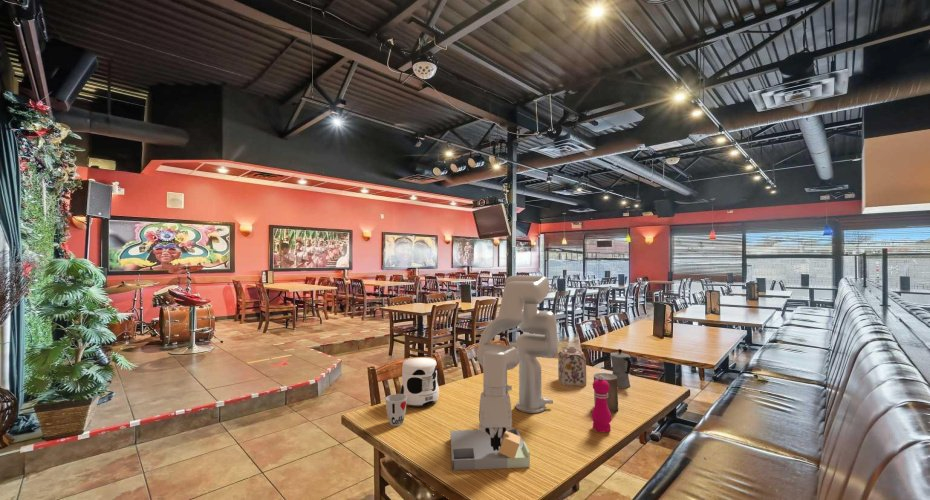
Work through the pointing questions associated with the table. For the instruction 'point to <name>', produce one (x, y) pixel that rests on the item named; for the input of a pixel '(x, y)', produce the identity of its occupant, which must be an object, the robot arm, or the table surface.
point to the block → (509, 444)
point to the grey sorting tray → (483, 451)
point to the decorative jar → (572, 367)
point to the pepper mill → (601, 406)
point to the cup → (396, 408)
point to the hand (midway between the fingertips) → (495, 448)
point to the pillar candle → (610, 390)
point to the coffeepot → (621, 368)
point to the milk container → (420, 381)
